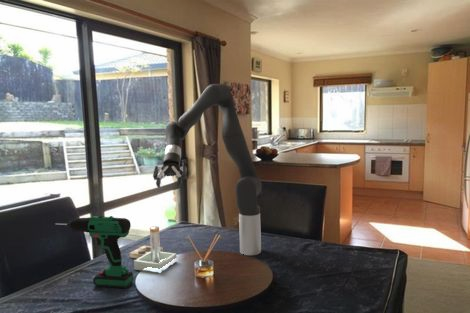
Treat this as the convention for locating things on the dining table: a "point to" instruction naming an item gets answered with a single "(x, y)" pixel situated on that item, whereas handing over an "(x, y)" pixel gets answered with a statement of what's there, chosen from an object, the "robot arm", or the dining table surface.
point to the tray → (146, 262)
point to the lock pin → (155, 244)
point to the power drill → (107, 247)
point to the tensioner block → (141, 251)
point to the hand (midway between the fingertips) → (168, 186)
